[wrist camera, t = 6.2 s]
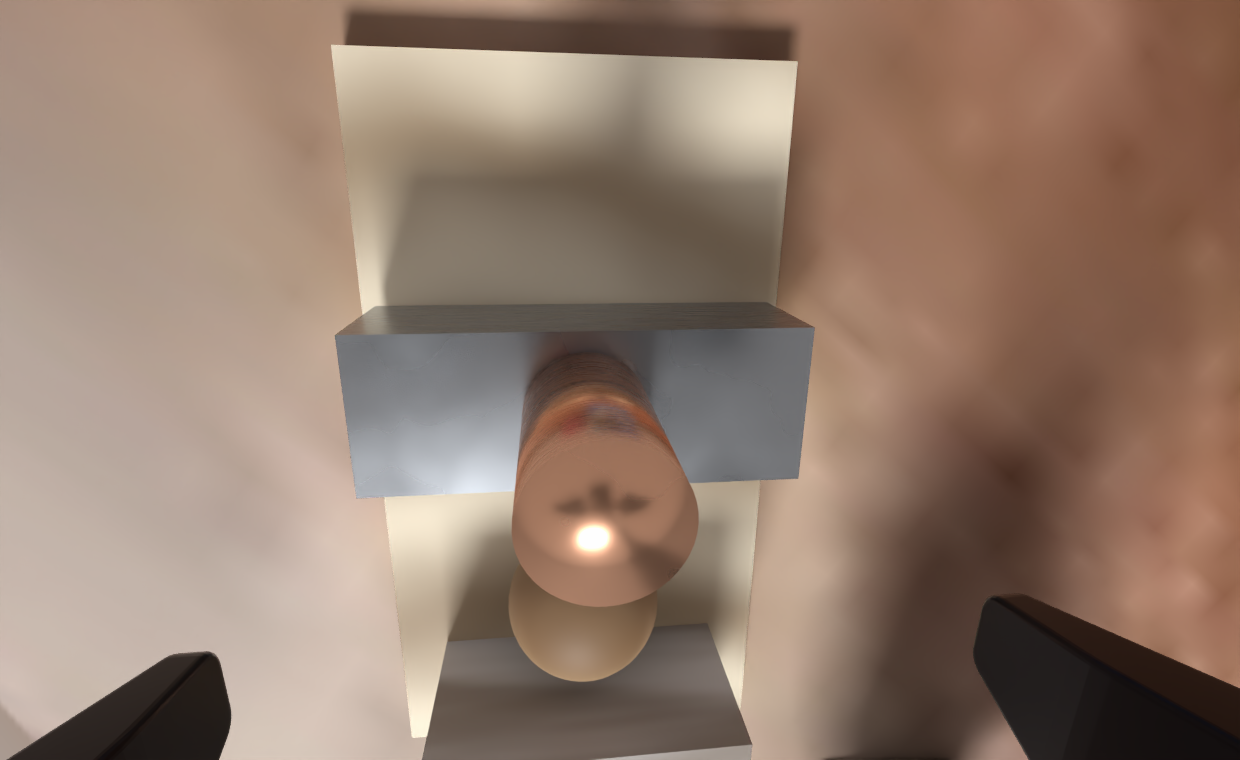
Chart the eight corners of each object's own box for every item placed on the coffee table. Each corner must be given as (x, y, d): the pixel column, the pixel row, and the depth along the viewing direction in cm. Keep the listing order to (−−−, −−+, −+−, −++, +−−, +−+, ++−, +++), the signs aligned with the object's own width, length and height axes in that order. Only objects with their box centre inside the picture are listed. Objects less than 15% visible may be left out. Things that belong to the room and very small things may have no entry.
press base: (732, 688, 24) (790, 843, 18) (417, 714, 23) (375, 890, 17) (784, 67, 18) (898, 12, 12) (343, 52, 16) (233, -19, 10)
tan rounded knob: (643, 608, 21) (668, 711, 17) (515, 617, 21) (507, 725, 17) (646, 494, 20) (673, 575, 16) (509, 500, 20) (499, 587, 15)
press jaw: (755, 429, 19) (911, 609, 11) (389, 441, 18) (261, 656, 10) (766, 301, 18) (949, 399, 10) (375, 306, 17) (215, 422, 9)
